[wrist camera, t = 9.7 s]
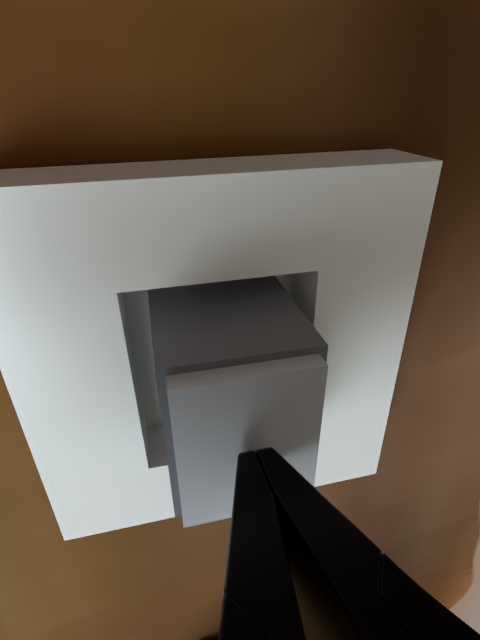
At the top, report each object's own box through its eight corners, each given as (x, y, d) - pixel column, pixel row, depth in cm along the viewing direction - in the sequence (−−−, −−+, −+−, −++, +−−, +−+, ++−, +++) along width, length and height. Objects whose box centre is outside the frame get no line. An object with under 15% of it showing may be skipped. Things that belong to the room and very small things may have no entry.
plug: (268, 392, 16) (318, 502, 12) (163, 408, 15) (176, 533, 11) (271, 271, 13) (337, 357, 9) (147, 284, 13) (156, 384, 8)
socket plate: (348, 430, 19) (375, 473, 17) (72, 482, 17) (64, 540, 14) (391, 148, 13) (442, 160, 11) (-28, 170, 11) (-67, 191, 9)
